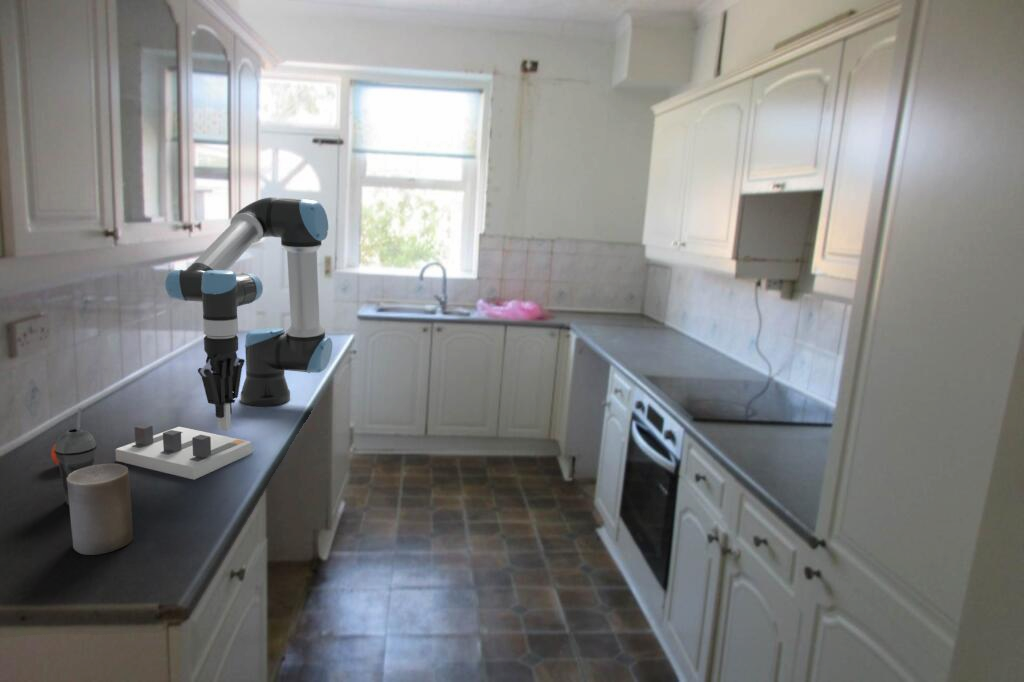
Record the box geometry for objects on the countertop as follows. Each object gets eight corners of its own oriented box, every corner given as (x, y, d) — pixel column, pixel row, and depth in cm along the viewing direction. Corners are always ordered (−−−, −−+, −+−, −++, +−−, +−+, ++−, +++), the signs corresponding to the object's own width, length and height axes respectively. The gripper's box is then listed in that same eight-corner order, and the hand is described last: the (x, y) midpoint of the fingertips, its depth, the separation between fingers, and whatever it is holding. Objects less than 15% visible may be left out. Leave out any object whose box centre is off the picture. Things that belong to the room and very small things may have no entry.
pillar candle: (142, 529, 127) (137, 456, 124) (120, 555, 118) (114, 476, 115) (87, 530, 126) (81, 456, 123) (61, 557, 116) (53, 477, 113)
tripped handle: (201, 452, 157) (200, 434, 156) (211, 454, 156) (210, 436, 156) (192, 455, 155) (192, 437, 154) (202, 458, 154) (202, 439, 153)
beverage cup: (52, 500, 136) (45, 408, 132) (92, 490, 142) (86, 401, 138) (66, 511, 132) (59, 417, 128) (105, 500, 138) (100, 409, 134)
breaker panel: (179, 437, 176) (178, 410, 174) (252, 453, 168) (251, 424, 166) (116, 460, 158) (114, 430, 156) (194, 479, 150) (192, 448, 149)
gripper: (228, 329, 164) (231, 418, 169) (187, 338, 152) (191, 434, 157) (252, 332, 162) (255, 423, 167) (212, 342, 150) (216, 439, 155)
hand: (224, 428), depth 162 cm, fingers closed
